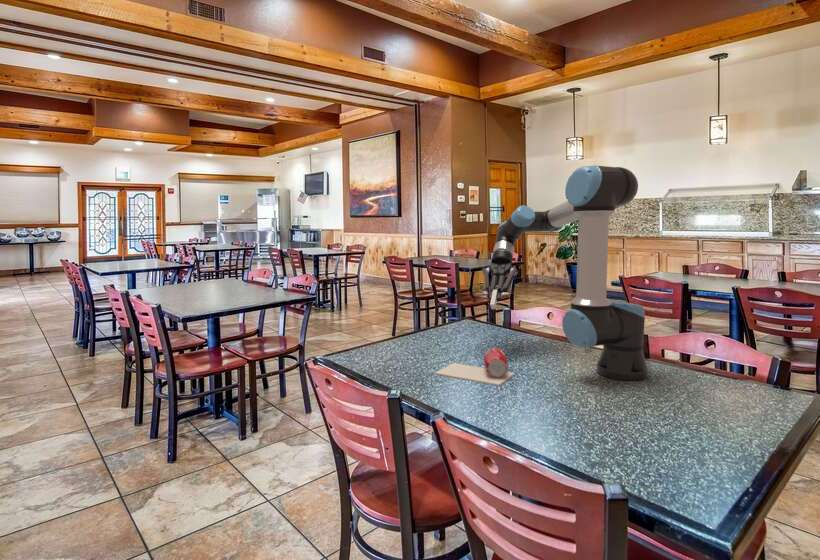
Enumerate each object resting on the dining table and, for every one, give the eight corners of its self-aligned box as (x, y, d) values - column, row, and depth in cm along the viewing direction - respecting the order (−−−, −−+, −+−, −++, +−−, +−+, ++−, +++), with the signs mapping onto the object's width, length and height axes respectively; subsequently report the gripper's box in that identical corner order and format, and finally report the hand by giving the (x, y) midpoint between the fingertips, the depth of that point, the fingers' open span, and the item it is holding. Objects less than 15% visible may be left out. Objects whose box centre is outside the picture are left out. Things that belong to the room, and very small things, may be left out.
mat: (514, 374, 161) (514, 372, 161) (499, 385, 150) (499, 384, 150) (453, 364, 172) (453, 363, 172) (434, 374, 161) (434, 372, 161)
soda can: (500, 369, 167) (504, 382, 155) (480, 362, 167) (482, 375, 155) (508, 350, 166) (512, 362, 154) (487, 343, 166) (490, 354, 154)
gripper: (521, 262, 188) (513, 314, 174) (487, 262, 192) (476, 312, 179) (519, 249, 182) (510, 300, 168) (483, 249, 187) (472, 299, 173)
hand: (492, 306), depth 173 cm, fingers closed
